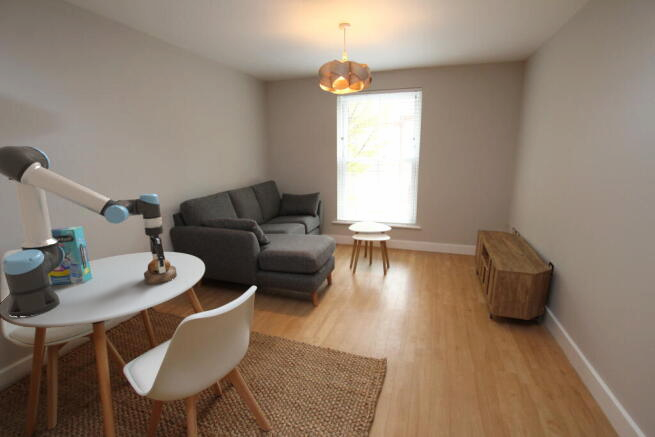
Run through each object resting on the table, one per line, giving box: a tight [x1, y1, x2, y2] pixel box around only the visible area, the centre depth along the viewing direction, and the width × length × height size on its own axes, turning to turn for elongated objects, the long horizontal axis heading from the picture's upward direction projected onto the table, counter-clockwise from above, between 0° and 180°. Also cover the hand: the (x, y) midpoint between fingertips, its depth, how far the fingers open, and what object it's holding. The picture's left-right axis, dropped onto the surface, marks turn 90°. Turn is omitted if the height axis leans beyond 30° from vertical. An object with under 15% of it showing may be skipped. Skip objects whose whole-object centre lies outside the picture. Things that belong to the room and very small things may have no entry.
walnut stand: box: [143, 265, 178, 286], centre depth 151 cm, size 14×14×4 cm
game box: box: [48, 226, 93, 286], centre depth 147 cm, size 20×6×27 cm, turn 95°
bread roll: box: [147, 258, 171, 274], centre depth 150 cm, size 10×10×8 cm
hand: (159, 269), depth 151 cm, fingers closed on bread roll, 10 cm apart
